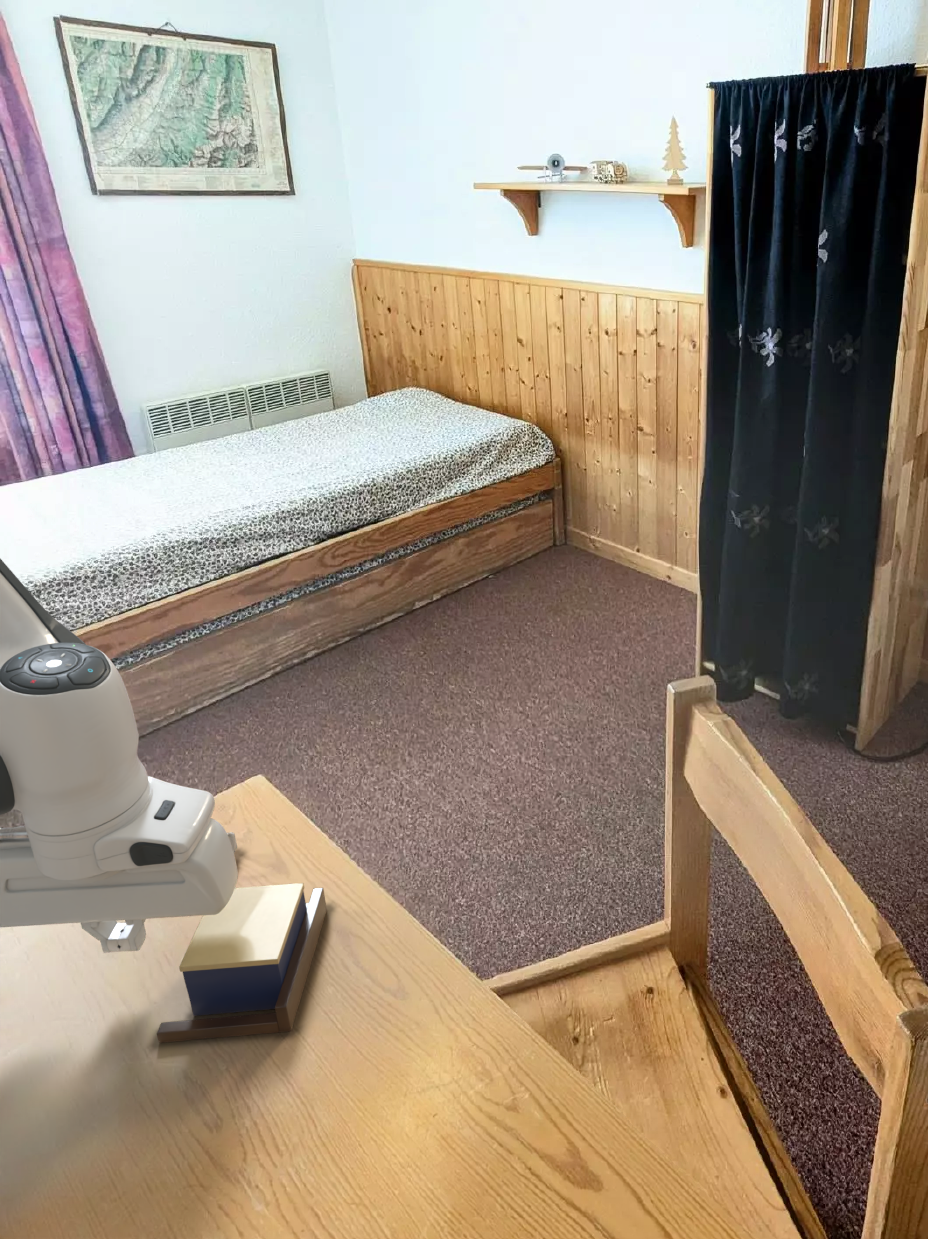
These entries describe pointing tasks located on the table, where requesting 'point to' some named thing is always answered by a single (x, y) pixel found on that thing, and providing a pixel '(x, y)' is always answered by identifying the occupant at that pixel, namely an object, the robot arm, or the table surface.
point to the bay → (286, 998)
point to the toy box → (244, 950)
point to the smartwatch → (232, 840)
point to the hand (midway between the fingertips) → (125, 945)
